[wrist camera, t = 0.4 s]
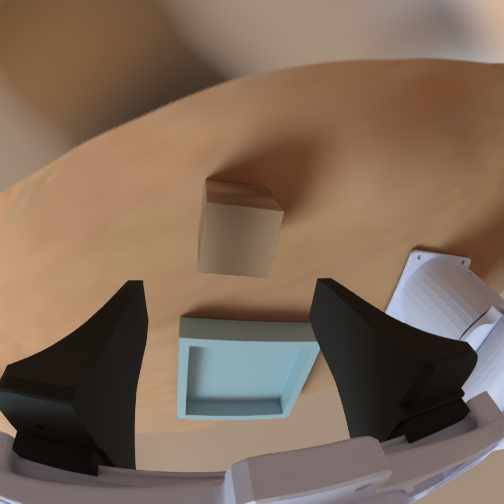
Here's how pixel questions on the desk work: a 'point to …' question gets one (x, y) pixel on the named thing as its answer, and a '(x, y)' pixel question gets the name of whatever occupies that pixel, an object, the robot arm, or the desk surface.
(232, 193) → the walnut block
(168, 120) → the desk surface
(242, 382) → the tray
